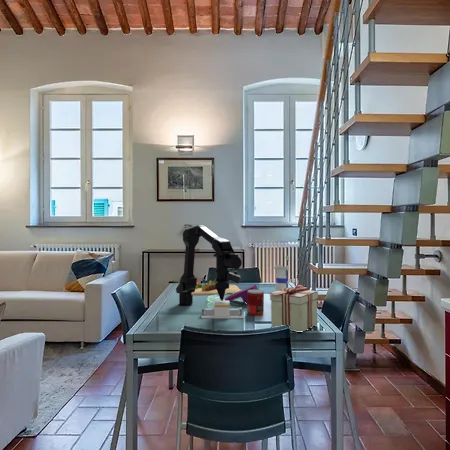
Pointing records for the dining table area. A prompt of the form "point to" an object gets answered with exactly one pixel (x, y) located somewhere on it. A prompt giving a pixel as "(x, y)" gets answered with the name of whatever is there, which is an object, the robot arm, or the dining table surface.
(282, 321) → the gift box
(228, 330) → the dining table surface
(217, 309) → the grey slotted block
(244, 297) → the mounting bracket
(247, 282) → the dining table surface
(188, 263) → the robot arm
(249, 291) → the canned food
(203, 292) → the cutting board
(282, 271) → the water bottle
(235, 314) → the light grey long base
